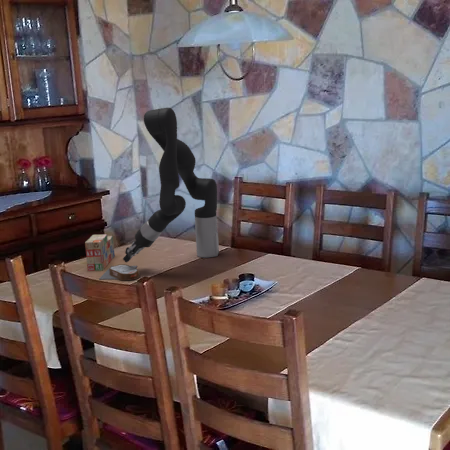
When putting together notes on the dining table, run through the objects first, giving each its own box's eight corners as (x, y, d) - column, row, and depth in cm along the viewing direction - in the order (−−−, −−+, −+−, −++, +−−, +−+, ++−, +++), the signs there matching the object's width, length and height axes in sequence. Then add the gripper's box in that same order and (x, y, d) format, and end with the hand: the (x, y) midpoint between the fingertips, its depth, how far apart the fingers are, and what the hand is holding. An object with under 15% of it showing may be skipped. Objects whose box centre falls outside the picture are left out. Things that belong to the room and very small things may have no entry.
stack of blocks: (100, 256, 277) (98, 229, 275) (114, 256, 277) (112, 229, 274) (87, 271, 257) (84, 241, 254) (102, 270, 256) (100, 241, 253)
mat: (137, 266, 260) (137, 265, 260) (126, 279, 243) (126, 278, 243) (111, 266, 261) (111, 265, 261) (99, 279, 245) (98, 278, 244)
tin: (123, 268, 256) (105, 275, 251) (122, 261, 255) (104, 267, 250) (143, 276, 245) (125, 283, 239) (142, 269, 244) (124, 275, 239)
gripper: (152, 222, 251) (128, 249, 260) (133, 229, 240) (109, 257, 248) (164, 236, 250) (140, 262, 258) (145, 244, 239) (121, 272, 247)
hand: (125, 260), depth 253 cm, fingers closed
